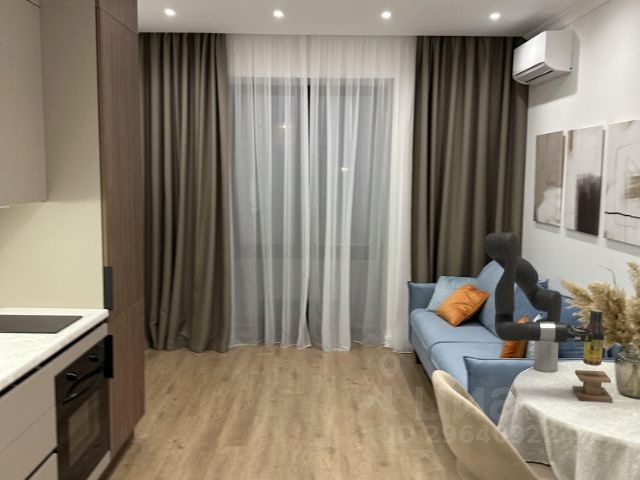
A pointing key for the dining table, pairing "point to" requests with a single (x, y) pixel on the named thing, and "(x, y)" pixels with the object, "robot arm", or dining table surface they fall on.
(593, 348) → the sauce bottle
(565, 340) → the robot arm
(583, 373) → the walnut pedestal
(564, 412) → the dining table surface
